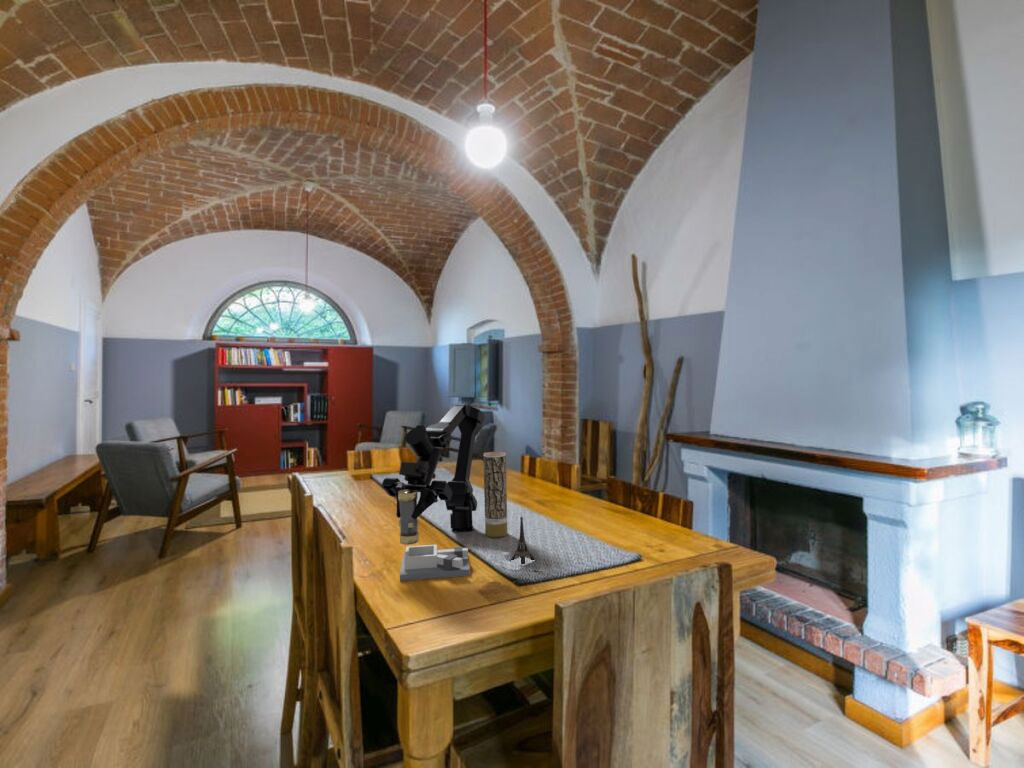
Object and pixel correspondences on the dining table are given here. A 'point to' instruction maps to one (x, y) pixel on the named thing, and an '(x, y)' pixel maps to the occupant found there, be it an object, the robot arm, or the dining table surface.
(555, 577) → the dining table surface
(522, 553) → the eiffel tower figurine
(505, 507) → the brown textured cylinder
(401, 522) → the coupling
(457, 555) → the shaft stand
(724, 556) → the dining table surface
